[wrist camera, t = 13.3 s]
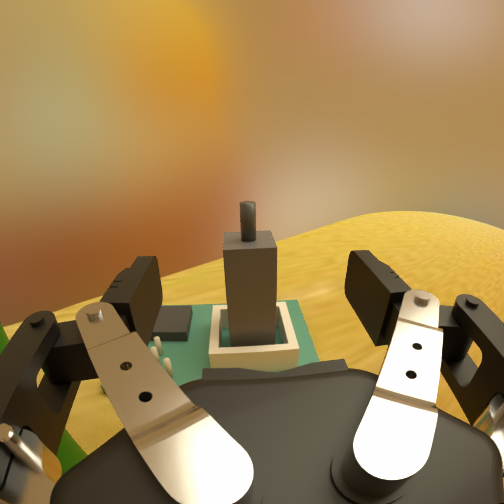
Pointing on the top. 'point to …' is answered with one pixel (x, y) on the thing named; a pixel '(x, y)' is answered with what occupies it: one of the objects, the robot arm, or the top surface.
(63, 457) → the green pen holder
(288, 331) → the board
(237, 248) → the plug
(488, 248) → the top surface
